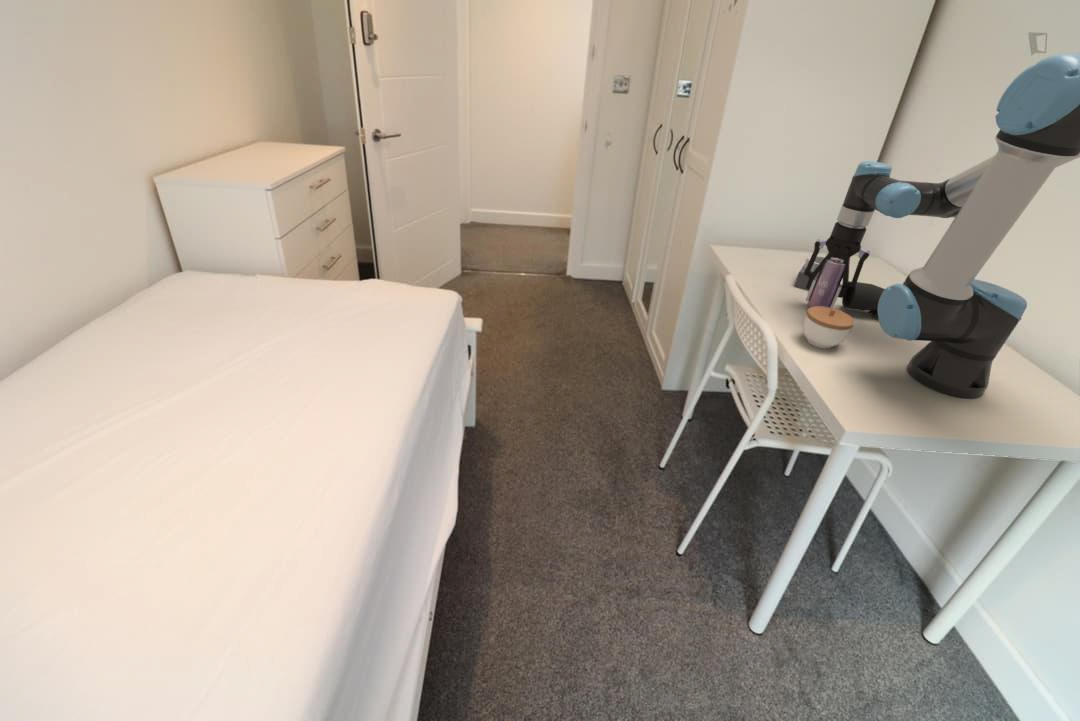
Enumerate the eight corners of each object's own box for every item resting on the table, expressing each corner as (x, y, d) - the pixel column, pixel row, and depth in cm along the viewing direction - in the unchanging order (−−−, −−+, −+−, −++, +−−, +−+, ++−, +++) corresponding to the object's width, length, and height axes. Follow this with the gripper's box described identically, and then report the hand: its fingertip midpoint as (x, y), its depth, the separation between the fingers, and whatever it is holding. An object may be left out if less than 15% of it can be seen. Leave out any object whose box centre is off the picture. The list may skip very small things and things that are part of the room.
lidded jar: (848, 356, 124) (864, 322, 119) (802, 349, 126) (816, 316, 121) (835, 335, 133) (849, 303, 128) (792, 329, 135) (805, 297, 130)
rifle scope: (947, 333, 140) (966, 300, 134) (847, 318, 143) (861, 286, 138) (930, 316, 148) (947, 285, 143) (836, 303, 152) (849, 272, 147)
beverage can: (832, 311, 147) (853, 262, 139) (821, 315, 144) (841, 265, 136) (813, 302, 151) (832, 254, 143) (802, 306, 148) (821, 257, 140)
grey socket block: (827, 295, 156) (837, 271, 152) (793, 286, 161) (802, 262, 156) (834, 282, 166) (843, 259, 162) (802, 274, 171) (810, 251, 166)
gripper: (893, 229, 132) (857, 308, 145) (815, 213, 141) (788, 289, 153) (891, 236, 127) (854, 317, 139) (811, 219, 135) (782, 297, 148)
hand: (819, 303), depth 146 cm, fingers closed on beverage can, 6 cm apart
